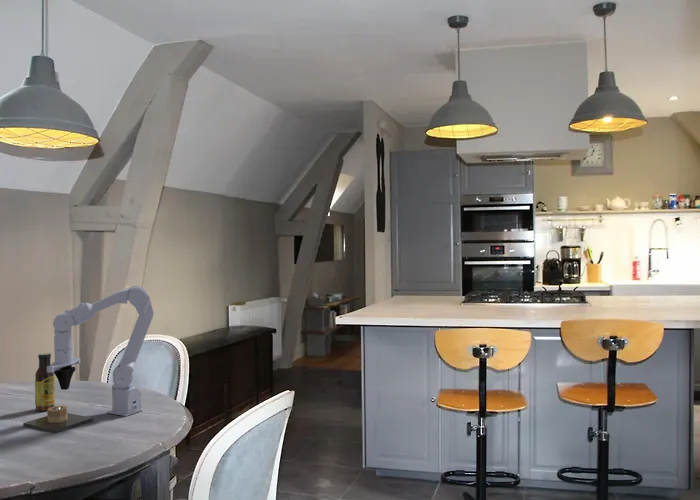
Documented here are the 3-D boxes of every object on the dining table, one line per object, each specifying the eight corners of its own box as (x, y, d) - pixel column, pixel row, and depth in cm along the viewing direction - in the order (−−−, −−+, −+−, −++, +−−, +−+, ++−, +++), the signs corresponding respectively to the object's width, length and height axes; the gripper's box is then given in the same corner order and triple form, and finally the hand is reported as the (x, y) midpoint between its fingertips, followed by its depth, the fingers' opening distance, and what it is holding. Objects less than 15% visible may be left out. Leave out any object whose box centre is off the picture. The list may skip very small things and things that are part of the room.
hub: (92, 420, 210) (92, 404, 210) (55, 432, 198) (55, 415, 197) (61, 414, 217) (60, 399, 217) (23, 426, 205) (22, 409, 205)
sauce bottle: (47, 412, 221) (45, 356, 220) (31, 411, 222) (29, 355, 221) (59, 407, 227) (57, 352, 226) (44, 406, 228) (42, 351, 228)
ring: (68, 417, 211) (67, 405, 211) (65, 422, 206) (65, 409, 205) (49, 418, 209) (49, 406, 209) (46, 423, 204) (46, 411, 204)
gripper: (67, 344, 220) (68, 383, 221) (38, 352, 206) (39, 394, 207) (85, 345, 219) (86, 384, 219) (56, 353, 205) (58, 395, 205)
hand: (64, 389), depth 213 cm, fingers closed
